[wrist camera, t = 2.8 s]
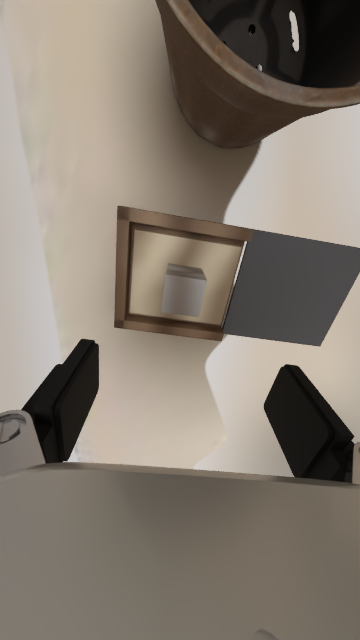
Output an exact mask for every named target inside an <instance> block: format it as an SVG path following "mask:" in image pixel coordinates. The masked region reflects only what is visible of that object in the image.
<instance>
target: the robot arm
mask: <svg viewBox="0 0 360 640" xmlns="http://www.w3.org/2000/svg"><path fill="white" fill-rule="evenodd" d="M98 388H99V345H98V344H96V343H95V341H94V340H88V339H81V340H80V342H79V343H78V344H77V346H76V347H75V348H74V350H73V351H72V352H71V354H70V355H69V356H68V358H67V359H66V360H65V362H64V363H63V364H58V365H56V366H55V367H54V368H53V370H52V371H51V372H50V373H49V375H48V376H47V377H46V379H45V380H44V381H43V382H42V384H41V385H40V386H39V388H38V389H37V390H36V391H35V393H34V394H33V395H32V397H31V398H30V399H29V400H28V402H27V403H26V404H25V406H24V407H23V408H22V410H11V411H6V412H3V413H0V640H360V442H358V443H356V444H354V443H353V442H352V441H351V440H352V439H353V438H354V435H353V434H352V433H351V431H350V430H349V429H348V428H347V426H346V425H345V424H344V423H343V422H342V420H341V419H340V418H339V417H338V415H337V414H336V413H335V411H334V410H333V409H332V408H331V406H330V405H329V404H328V403H327V401H326V400H325V399H324V398H323V396H322V395H321V394H320V393H319V391H318V390H317V389H316V388H315V386H314V385H313V384H312V383H311V381H310V380H309V379H308V378H307V376H306V375H305V374H304V372H303V371H302V370H301V369H300V367H298V366H295V365H288V364H286V365H284V367H281V368H280V370H279V373H278V375H277V377H276V379H275V381H274V383H273V385H272V388H271V390H270V392H269V394H268V396H267V398H266V401H265V403H264V410H265V413H266V415H267V417H268V419H269V422H270V424H271V426H272V428H273V430H274V433H275V435H276V437H277V439H278V442H279V444H280V446H281V449H282V451H283V453H284V455H285V457H286V460H287V462H288V464H289V466H290V468H291V471H292V473H293V475H294V477H283V476H271V475H259V474H245V473H233V472H220V471H207V470H194V469H180V468H166V467H152V466H137V465H123V464H103V463H84V462H63V461H67V460H68V459H69V457H70V455H71V453H72V450H73V448H74V446H75V443H76V441H77V439H78V436H79V434H80V432H81V429H82V427H83V425H84V422H85V420H86V418H87V416H88V413H89V411H90V409H91V406H92V404H93V402H94V399H95V397H96V395H97V392H98Z"/></svg>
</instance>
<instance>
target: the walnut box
mask: <svg viewBox="0 0 360 640" xmlns="http://www.w3.org/2000/svg"><path fill="white" fill-rule="evenodd" d="M135 229H141V230H147V231H153V232H159V233H165V234H171V235H177V236H183V237H189V238H195V239H201V240H207V241H212V242H218V243H224V244H230V245H236V246H240V247H242V249H243V245H244V242H245V241H249V242H250V241H251V238H252V234H253V231H254V230H252V229H248V228H243V227H237V226H232V225H226V224H220V223H215V222H209V221H203V220H198V219H192V218H186V217H181V216H175V215H169V214H164V213H158V212H152V211H146V210H141V209H135V208H129V207H124V206H118V209H117V247H116V284H115V321H114V327H115V328H122V329H130V330H138V331H146V332H153V333H161V334H169V335H177V336H184V337H192V338H200V339H207V340H215V341H222V338H223V335H224V333H223V330H222V328H221V325H222V321H223V318H224V314H225V311H224V314H223V318H222V321H221V325H217V324H209V323H202V322H195V321H187V320H180V319H173V318H165V317H158V316H151V315H143V314H136V313H130V299H131V283H132V267H133V250H134V234H135ZM242 249H241V252H242ZM241 252H240V256H241ZM240 256H239V260H240ZM239 260H238V263H239ZM238 263H237V267H238ZM237 267H236V270H235V274H236V271H237ZM235 274H234V278H235ZM234 278H233V281H232V285H233V282H234ZM232 285H231V289H232ZM231 289H230V292H231ZM230 292H229V296H230ZM229 296H228V300H229ZM228 300H227V303H228ZM227 303H226V307H227ZM226 307H225V310H226Z"/></svg>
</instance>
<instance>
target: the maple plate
mask: <svg viewBox="0 0 360 640" xmlns="http://www.w3.org/2000/svg"><path fill="white" fill-rule="evenodd" d="M241 249H242V247H240V246H236V245H230V244H224V243H218V242H212V241H207V240H201V239H195V238H189V237H183V236H177V235H171V234H165V233H159V232H153V231H147V230H141V229H135V234H134V250H133V267H132V283H131V299H130V313H136V314H143V315H151V316H158V317H165V318H173V319H180V320H187V321H195V322H202V323H209V324H217V325H221V321H222V318H223V314H224V311H225V307H226V303H227V300H228V296H229V292H230V289H231V285H232V281H233V278H234V274H235V270H236V267H237V263H238V260H239V256H240V252H241Z"/></svg>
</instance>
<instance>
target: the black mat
mask: <svg viewBox="0 0 360 640" xmlns="http://www.w3.org/2000/svg"><path fill="white" fill-rule="evenodd" d="M252 230H254V229H252ZM359 272H360V248H356V247H351V246H345V245H339V244H334V243H328V242H323V241H317V240H311V239H306V238H300V237H294V236H289V235H283V234H277V233H271V232H266V231H260V230H254V231H253V234H252V238H251V241H250V242H249V241H247V244H246V248H245V251H244V255H243V258H242V262H241V265H240V269H239V273H238V276H237V280H236V283H235V287H234V290H233V294H232V297H231V301H230V304H229V308H228V311H227V315H226V319H225V322H224V326H223V329H222V330H223V333H224V334H230V335H237V336H245V337H252V338H260V339H267V340H275V341H283V342H290V343H298V344H305V345H313V346H321V343H322V341H323V340H324V338H325V336H326V334H327V332H328V330H329V329H330V327H331V325H332V323H333V321H334V319H335V317H336V315H337V314H338V312H339V310H340V308H341V306H342V304H343V302H344V301H345V299H346V297H347V295H348V293H349V291H350V289H351V287H352V286H353V284H354V282H355V280H356V278H357V276H358V274H359Z"/></svg>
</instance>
